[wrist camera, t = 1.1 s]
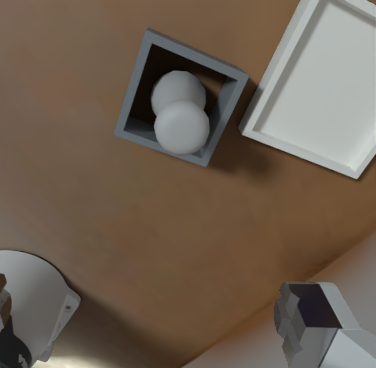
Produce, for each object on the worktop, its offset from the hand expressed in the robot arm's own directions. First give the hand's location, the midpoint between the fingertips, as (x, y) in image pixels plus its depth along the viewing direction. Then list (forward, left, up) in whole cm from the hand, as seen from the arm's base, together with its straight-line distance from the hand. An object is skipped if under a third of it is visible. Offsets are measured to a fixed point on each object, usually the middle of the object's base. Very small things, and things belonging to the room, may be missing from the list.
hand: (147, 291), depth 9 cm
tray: (+7, -18, -29) cm, 34 cm away
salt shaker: (0, -2, -29) cm, 29 cm away
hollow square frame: (0, -2, -29) cm, 29 cm away
